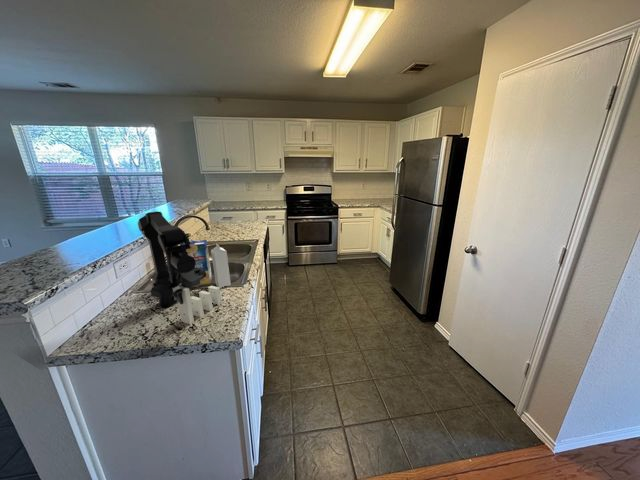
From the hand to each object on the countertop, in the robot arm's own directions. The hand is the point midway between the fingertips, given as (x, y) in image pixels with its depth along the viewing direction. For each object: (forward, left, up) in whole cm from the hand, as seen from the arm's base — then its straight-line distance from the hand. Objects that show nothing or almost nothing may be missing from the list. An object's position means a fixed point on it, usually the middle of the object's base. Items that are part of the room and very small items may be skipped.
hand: (184, 302), depth 95 cm
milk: (-14, +33, -12) cm, 38 cm away
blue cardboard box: (-28, +31, -12) cm, 44 cm away
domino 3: (-4, +8, -12) cm, 15 cm away
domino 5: (-4, +18, -12) cm, 22 cm away
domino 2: (-4, +3, -12) cm, 13 cm away
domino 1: (0, 0, -2) cm, 2 cm away
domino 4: (-4, +13, -12) cm, 18 cm away
